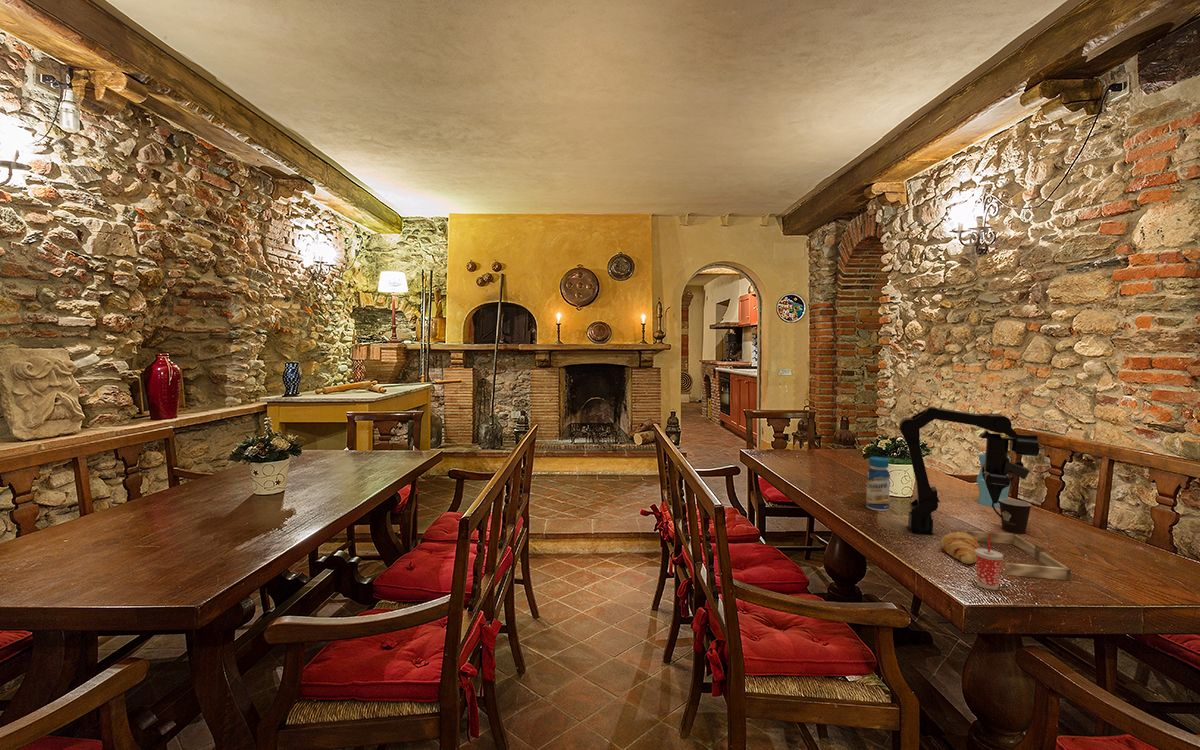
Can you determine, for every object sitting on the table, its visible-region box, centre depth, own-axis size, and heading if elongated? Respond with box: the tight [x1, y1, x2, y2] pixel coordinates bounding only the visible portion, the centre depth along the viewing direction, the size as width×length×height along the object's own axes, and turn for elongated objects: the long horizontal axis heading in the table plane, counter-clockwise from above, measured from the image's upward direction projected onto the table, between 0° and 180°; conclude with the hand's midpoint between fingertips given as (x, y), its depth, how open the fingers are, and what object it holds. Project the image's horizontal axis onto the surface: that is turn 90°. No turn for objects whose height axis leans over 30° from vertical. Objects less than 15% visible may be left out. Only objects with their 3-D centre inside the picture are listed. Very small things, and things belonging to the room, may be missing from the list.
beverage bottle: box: [865, 456, 891, 512], centre depth 206 cm, size 8×8×20 cm
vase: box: [976, 453, 1012, 509], centre depth 212 cm, size 8×8×20 cm
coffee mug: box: [991, 498, 1032, 535], centre depth 183 cm, size 12×9×10 cm
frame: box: [963, 530, 1072, 581], centre depth 158 cm, size 15×28×4 cm, turn 166°
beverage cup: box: [975, 534, 1004, 591], centre depth 139 cm, size 6×6×14 cm
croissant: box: [939, 530, 981, 565], centre depth 161 cm, size 21×10×8 cm, turn 157°
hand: (993, 499), depth 171 cm, fingers open, 9 cm apart
